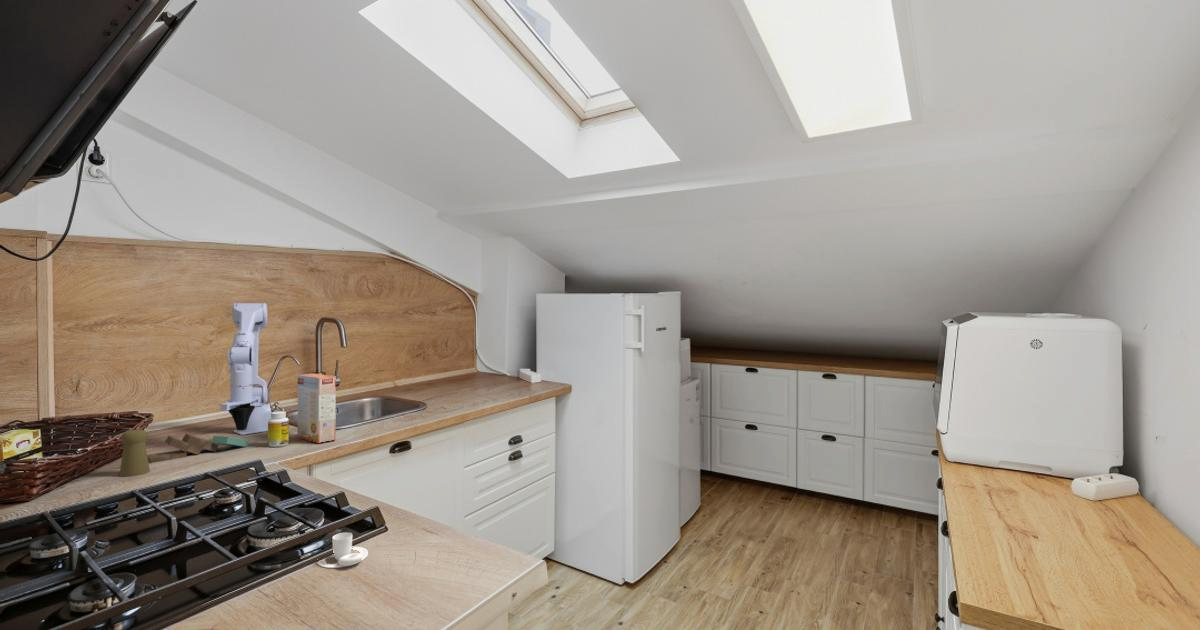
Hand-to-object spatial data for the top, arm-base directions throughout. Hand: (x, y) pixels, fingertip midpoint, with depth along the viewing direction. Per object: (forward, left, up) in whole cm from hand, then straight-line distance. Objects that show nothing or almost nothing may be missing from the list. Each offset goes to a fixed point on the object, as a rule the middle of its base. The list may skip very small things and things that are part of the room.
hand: (241, 429), depth 170 cm
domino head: (0, 0, -4) cm, 4 cm away
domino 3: (+7, 0, -4) cm, 8 cm away
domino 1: (+15, 0, -5) cm, 15 cm away
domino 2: (+11, 0, -4) cm, 12 cm away
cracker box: (-19, +9, -5) cm, 21 cm away
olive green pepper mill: (+27, +11, -5) cm, 30 cm away
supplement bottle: (-8, +8, -5) cm, 12 cm away
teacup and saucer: (+18, +100, -6) cm, 102 cm away
